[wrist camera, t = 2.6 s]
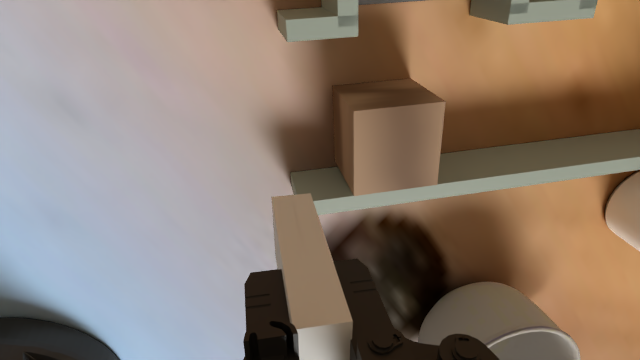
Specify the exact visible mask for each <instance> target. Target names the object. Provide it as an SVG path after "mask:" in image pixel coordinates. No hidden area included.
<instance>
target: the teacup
mask: <svg viewBox="0 0 640 360" xmlns="http://www.w3.org/2000/svg"><path fill="white" fill-rule="evenodd" d="M457 333H458V334H466V335H470V336H472V337H474V338H477V339H478V340H480V341H481V342H482V343H484V344H485V345H486V346H487V347H488V348H489V349H490V350H491V351H492V352H493V353H494V354H495V355H496V356H497V357H498V358H499V359H500V360H580V353H579V349H578V346H577V344H576V343H575V341H574V340H573V339H572V338H571V337H570V336H569V335H568V334H567V333H565V332H564V331H562V330H561V329H560V328H559V327H558V326H557V325H556V324H555V323H554V322H553V321H552V320H551V319H550V318H549V317H548V316H547V315H546V314H545V313H544V312H543V311H542V310H541V309H540V308H539V307H538V306H537V305H536V304H534V303H533V302H532V301H531V300H530V299H529V298H528V297H527V296H525V295H524V294H522V293H521V292H520V291H518V290H516V289H514V288H513V287H510V286H508V285H505V284H502V283H497V282H478V283H472V284H468V285H465V286H462V287H459V288H457V289H454V290H452V291H451V292H449V293H447V294H446V295H445V296H443V297H442V298H441V299H440V300H439V301H438V302H437V303H436V304H435V305H434V306H433V308H432V309H431V310H430V311H429V313H428V314H427V316H426V317H425V319H424V321H423V323H422V326H421V328H420V332H419V337H418V343H423V344H431V345H440V343H441V341H442V339H444V338H445V337H447V336H448V335H452V334H457Z"/></svg>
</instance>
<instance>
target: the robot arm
mask: <svg viewBox="0 0 640 360" xmlns="http://www.w3.org/2000/svg"><path fill="white" fill-rule="evenodd" d="M271 198H272V212H273V227H274V241H275V255H276V262H277V270H269V271H261V272H253V273H250V275H249V277H248V279H247V281H246V283H245V307H246V333H245V337H244V349H245V357H244V360H500V359H499V358H498V357H497V356H496V355H495V354H494V353H493V352H492V351H491V350H490V349H489V348H488V347H487V346H486V345H485V344H484V343H482V342H481V341H480V340H478V339H477V338H474V337H472V336H470V335H466V334H458V333H457V334H452V335H448V336H447V337H445V338H444V339H442V341H441V343H440V345H431V344H423V343H418V342H414V341H411V340H409V339H406V338H405V337H404V336H403V334H402V333H401V332H399V331H398V330H397V329H395V328H394V327H393V325H392V323H391V321H390V319H389V316H388V314H387V312H386V309H385V307H384V305H383V302H382V300H381V298H380V296H379V293H378V291H377V290H376V286H375V284H374V282H373V280H372V277H371V275H370V272H369V270H368V268H367V267H366V266H365V265H364V264H363V263H361V262H360V261H359V260H358V259H351V260H343V261H335V262H333V260H332V257H331V254H330V251H329V248H328V245H327V241H326V238H325V235H324V232H323V229H322V226H321V223H320V220H319V217H318V214H317V211H316V208H315V205H314V202H313V199H312V196H311V193H308V194H298V195H288V196H277V197H271ZM0 360H119V359H118V358H117V357H116V356H115V355H114V354H113V353H112V352H111V351H110V350H109V349H108V348H107V347H106V346H104V345H103V344H101V343H100V342H99V341H97V340H95V339H94V338H92V337H90V336H88V335H86V334H84V333H82V332H80V331H77V330H75V329H72V328H69V327H66V326H63V325H60V324H56V323H52V322H47V321H41V320H35V319H25V318H0Z"/></svg>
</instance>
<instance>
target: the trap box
mask: <svg viewBox="0 0 640 360" xmlns="http://www.w3.org/2000/svg"><path fill="white" fill-rule="evenodd" d="M409 1H423V0H321V6H322V7H317V8H302V9H288V10H277V19H278V30H279V31H280V32H281V34H282V35H283V37H284V38H285V39H286V41H287V42H295V41H308V40H320V39H333V38H345V37H358V5H364V4H379V3H394V2H409ZM596 5H597V0H471V7H470V15H471V16H475V17H479V18H483V19H487V20H491V21H495V22H499V23H503V24H507V25H509V24H522V23H535V22H547V21H560V20H572V19H585V18H593V17H594V13H595V9H596ZM634 170H640V129H634V130H626V131H618V132H610V133H602V134H594V135H586V136H578V137H570V138H562V139H554V140H546V141H538V142H530V143H522V144H515V145H507V146H499V147H491V148H483V149H475V150H467V151H459V152H451V153H443V154H440V162H439V172H438V182H437V185H432V186H425V187H418V188H410V189H403V190H396V191H388V192H381V193H373V194H366V195H359V196H354V195H353V194H352V192H351V190H350V188H349V186H348V184H347V182H346V180H345V179H344V177H343V175H342V173H341V171H340V169H339V167H331V168H323V169H315V170H307V171H299V172H291V173H290V174H291V186H292V190H293V193H294V195H298V194H308V193H311V196H312V199H313V202H314V205H315V208H316V211H317V214H318V215H324V214H331V213H338V212H345V211H352V210H359V209H366V208H373V207H380V206H387V205H394V204H401V203H408V202H416V201H423V200H430V199H437V198H444V197H451V196H458V195H465V194H472V193H479V192H486V191H493V190H500V189H507V188H514V187H521V186H529V185H536V184H543V183H550V182H557V181H564V180H571V179H578V178H585V177H592V176H599V175H606V174H613V173H620V172H627V171H634Z"/></svg>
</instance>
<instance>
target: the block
mask: <svg viewBox="0 0 640 360" xmlns="http://www.w3.org/2000/svg"><path fill="white" fill-rule="evenodd" d="M332 87H333V124H334V160H335V162H336V164H337V166H338V167H339V169H340V171H341V173H342V175H343V177H344V179H345V180H346V182H347V184H348V186H349V188H350V190H351V192H352V194H353V195H354V196H359V195H366V194H373V193H381V192H388V191H396V190H403V189H410V188H418V187H425V186H432V185H437V182H438V172H439V162H440V152H441V142H442V132H443V122H444V113H445V103H446V102H445V101H444V100H442V99H441V98H439V97H438V96H436V95H435V94H433V93H432V92H430V91H429V90H427V89H426V88H424V87H423V86H421V85H420V84H418V83H417V82H415V81H414V80H412V79H411V78H408V79H398V80H387V81H376V82H366V83H355V84H345V85H334V86H332Z"/></svg>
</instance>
